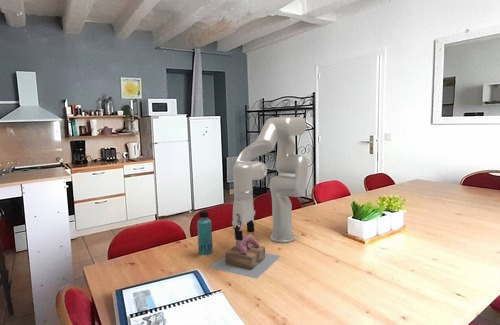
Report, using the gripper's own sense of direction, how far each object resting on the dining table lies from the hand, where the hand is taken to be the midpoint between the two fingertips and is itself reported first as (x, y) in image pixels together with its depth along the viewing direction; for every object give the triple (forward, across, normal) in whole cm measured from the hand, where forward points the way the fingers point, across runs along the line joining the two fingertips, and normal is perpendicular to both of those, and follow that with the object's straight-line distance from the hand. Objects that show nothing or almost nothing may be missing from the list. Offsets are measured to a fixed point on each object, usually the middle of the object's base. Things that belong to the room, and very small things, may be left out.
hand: (244, 235), depth 132 cm
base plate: (+12, 0, 0) cm, 12 cm away
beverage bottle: (+13, -1, -21) cm, 25 cm away
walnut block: (+11, 0, 0) cm, 11 cm away
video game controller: (+6, 0, +1) cm, 6 cm away
